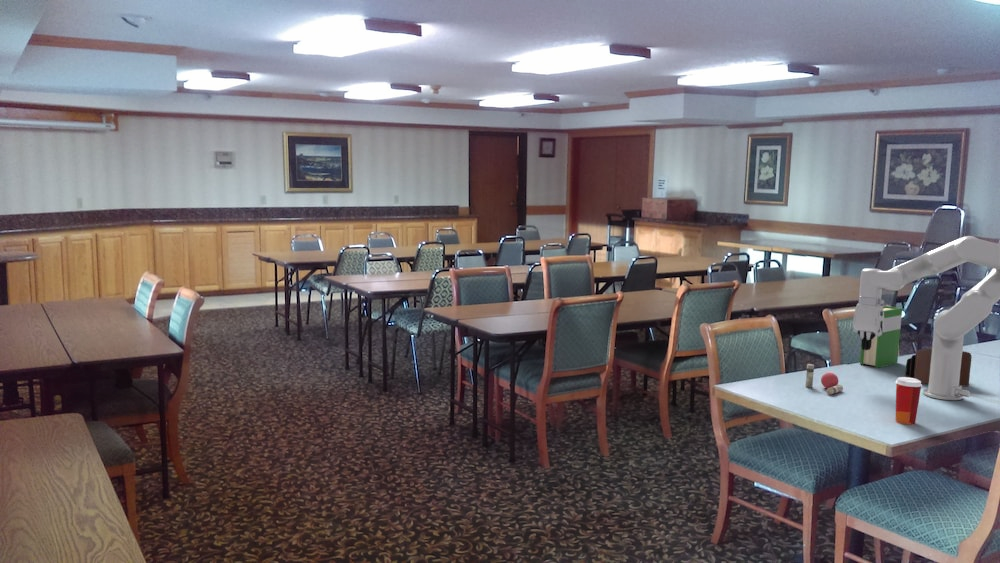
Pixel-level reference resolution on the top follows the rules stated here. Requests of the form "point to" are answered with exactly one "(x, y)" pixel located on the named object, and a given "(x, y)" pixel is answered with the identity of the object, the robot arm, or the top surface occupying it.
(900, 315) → the hardback book
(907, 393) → the paper cup
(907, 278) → the robot arm
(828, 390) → the ivory pin
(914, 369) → the letter holder
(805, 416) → the top surface
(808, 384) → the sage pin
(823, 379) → the ball
